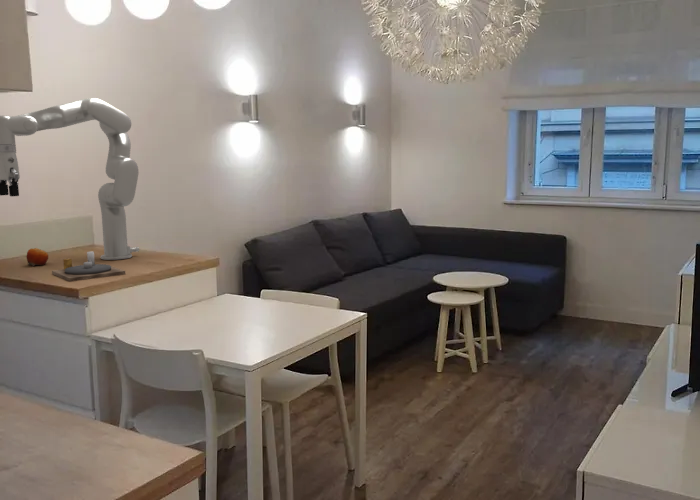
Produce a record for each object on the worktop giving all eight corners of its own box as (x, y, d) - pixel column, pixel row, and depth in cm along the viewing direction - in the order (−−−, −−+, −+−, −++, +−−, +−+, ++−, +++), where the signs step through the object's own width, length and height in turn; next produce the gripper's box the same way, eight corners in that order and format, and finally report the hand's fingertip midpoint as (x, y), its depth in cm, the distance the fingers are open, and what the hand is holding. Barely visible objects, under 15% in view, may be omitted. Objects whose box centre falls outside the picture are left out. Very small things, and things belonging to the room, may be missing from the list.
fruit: (18, 262, 271) (26, 244, 273) (34, 270, 277) (42, 252, 280) (29, 264, 267) (38, 245, 269) (46, 272, 273) (54, 253, 275)
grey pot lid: (102, 265, 263) (101, 249, 262) (117, 270, 251) (116, 254, 250) (59, 270, 253) (57, 254, 252) (73, 276, 241) (71, 259, 240)
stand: (105, 267, 266) (104, 254, 265) (125, 274, 251) (124, 260, 250) (52, 273, 254) (50, 260, 253) (69, 281, 238) (68, 266, 237)
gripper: (24, 149, 250) (29, 195, 253) (6, 149, 262) (10, 194, 264) (3, 149, 245) (7, 197, 247) (-15, 149, 256) (-11, 195, 259)
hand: (9, 195), depth 256 cm, fingers open, 9 cm apart
